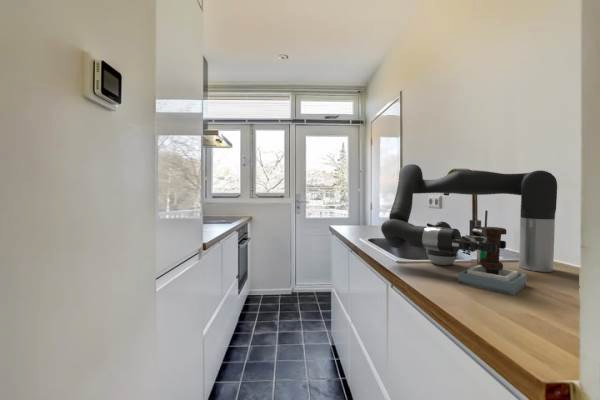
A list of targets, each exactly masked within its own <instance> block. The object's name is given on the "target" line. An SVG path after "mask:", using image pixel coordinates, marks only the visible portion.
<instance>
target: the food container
mask: <svg viewBox="0 0 600 400" xmlns="http://www.w3.org/2000/svg"><path fill="white" fill-rule="evenodd" d="M483 243H486V240H483ZM486 253H487V252H486V251H476V266H478V265H482V261H484V260H486V258H487V257H486Z"/></svg>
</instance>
